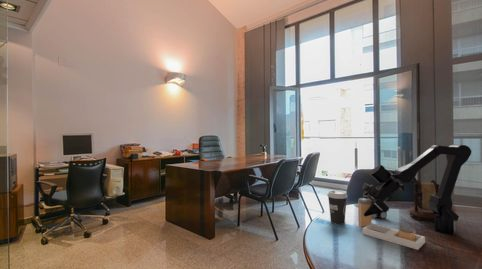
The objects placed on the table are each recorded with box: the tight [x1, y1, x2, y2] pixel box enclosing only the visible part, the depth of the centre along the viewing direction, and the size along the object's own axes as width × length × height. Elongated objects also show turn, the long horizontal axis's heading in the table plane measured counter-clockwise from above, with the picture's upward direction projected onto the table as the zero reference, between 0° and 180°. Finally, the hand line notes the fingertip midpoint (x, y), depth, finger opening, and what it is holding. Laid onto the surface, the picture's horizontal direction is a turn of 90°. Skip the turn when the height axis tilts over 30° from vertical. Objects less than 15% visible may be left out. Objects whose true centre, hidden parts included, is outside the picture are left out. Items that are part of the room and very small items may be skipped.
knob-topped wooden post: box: [357, 197, 373, 227], centre depth 116 cm, size 5×5×13 cm
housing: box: [362, 223, 426, 251], centre depth 101 cm, size 20×9×4 cm, turn 40°
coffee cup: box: [326, 190, 348, 225], centre depth 124 cm, size 10×10×15 cm
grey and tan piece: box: [397, 224, 417, 242], centre depth 97 cm, size 5×5×6 cm
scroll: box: [409, 179, 440, 222], centre depth 127 cm, size 15×15×20 cm
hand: (361, 212), depth 117 cm, fingers open, 8 cm apart
